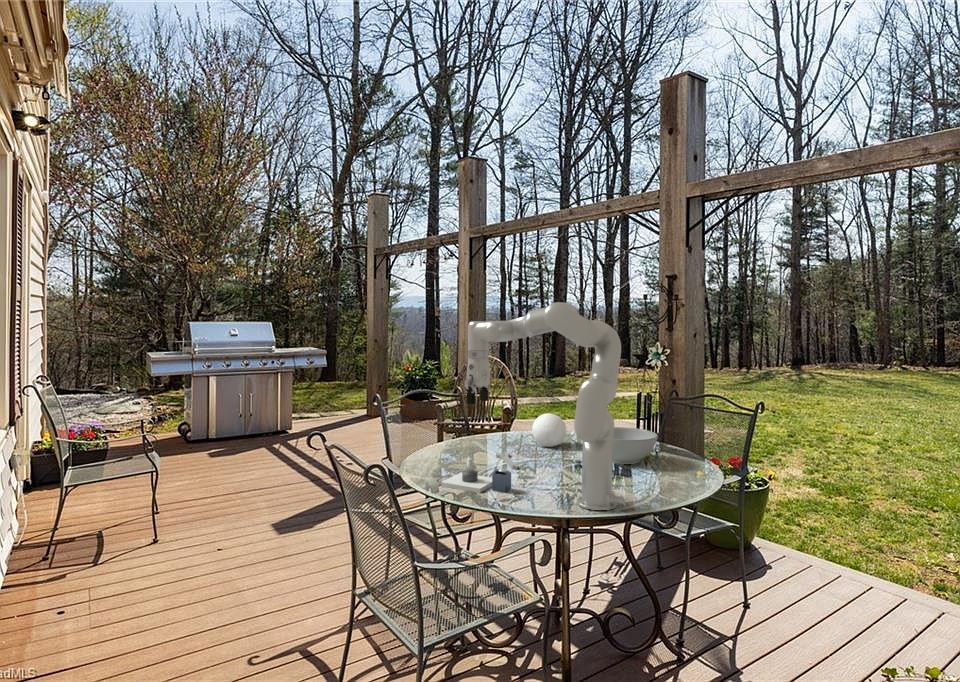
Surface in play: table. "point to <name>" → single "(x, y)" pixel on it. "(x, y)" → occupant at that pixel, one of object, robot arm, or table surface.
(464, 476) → the shaft mount
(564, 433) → the decorative orb
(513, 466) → the adjustable wrench
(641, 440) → the decorative bowl
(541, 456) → the table surface
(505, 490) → the coupler
